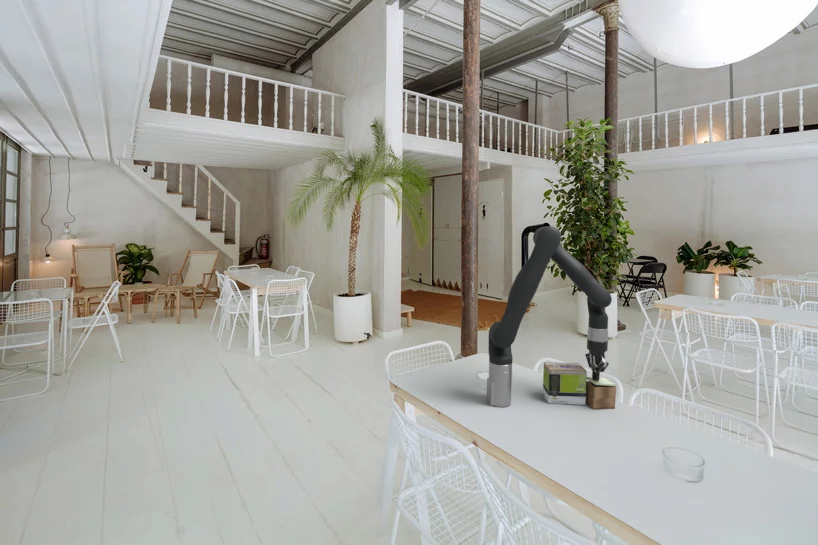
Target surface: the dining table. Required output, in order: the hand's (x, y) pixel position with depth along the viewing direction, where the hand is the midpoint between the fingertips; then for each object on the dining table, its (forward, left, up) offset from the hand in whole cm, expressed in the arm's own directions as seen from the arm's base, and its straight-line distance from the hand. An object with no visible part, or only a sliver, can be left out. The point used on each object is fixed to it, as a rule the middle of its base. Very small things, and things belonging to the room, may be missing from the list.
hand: (595, 380), depth 164 cm
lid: (+2, 0, -1) cm, 2 cm away
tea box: (-10, +7, -11) cm, 16 cm away
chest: (+2, 0, -11) cm, 11 cm away
